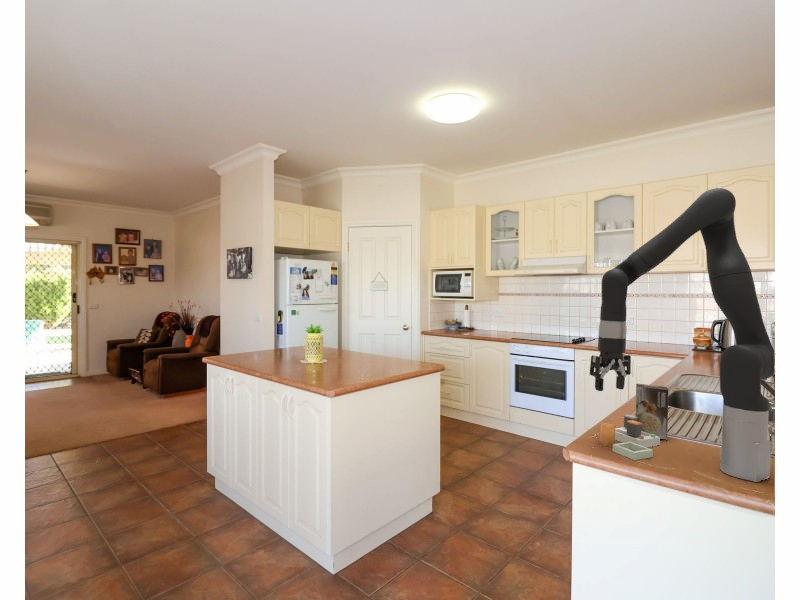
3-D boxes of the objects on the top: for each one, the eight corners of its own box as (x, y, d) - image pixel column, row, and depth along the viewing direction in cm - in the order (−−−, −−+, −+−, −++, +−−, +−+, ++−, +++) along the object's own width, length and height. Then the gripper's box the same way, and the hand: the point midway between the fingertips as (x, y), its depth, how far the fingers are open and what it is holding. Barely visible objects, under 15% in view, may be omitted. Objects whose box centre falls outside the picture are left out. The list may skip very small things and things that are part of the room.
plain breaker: (637, 429, 140) (638, 417, 140) (632, 430, 139) (632, 417, 139) (629, 426, 143) (629, 414, 143) (623, 427, 142) (624, 415, 142)
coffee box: (666, 435, 144) (668, 386, 144) (667, 441, 139) (669, 390, 138) (634, 430, 149) (636, 383, 148) (634, 436, 143) (636, 386, 143)
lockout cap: (617, 445, 133) (618, 425, 133) (608, 447, 131) (608, 427, 131) (606, 441, 136) (607, 422, 136) (597, 443, 135) (597, 423, 135)
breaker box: (659, 445, 134) (660, 434, 134) (639, 448, 131) (639, 437, 131) (627, 434, 144) (628, 424, 144) (607, 437, 141) (608, 426, 141)
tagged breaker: (641, 435, 134) (641, 422, 134) (635, 436, 133) (636, 423, 133) (632, 432, 137) (632, 420, 137) (626, 433, 136) (626, 420, 135)
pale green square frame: (652, 457, 124) (653, 449, 124) (634, 460, 121) (635, 452, 121) (630, 448, 131) (630, 441, 131) (612, 451, 128) (612, 444, 128)
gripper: (618, 334, 140) (616, 385, 140) (584, 334, 134) (582, 388, 134) (639, 337, 133) (637, 391, 133) (605, 337, 127) (602, 394, 127)
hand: (609, 389), depth 134 cm, fingers open, 8 cm apart
